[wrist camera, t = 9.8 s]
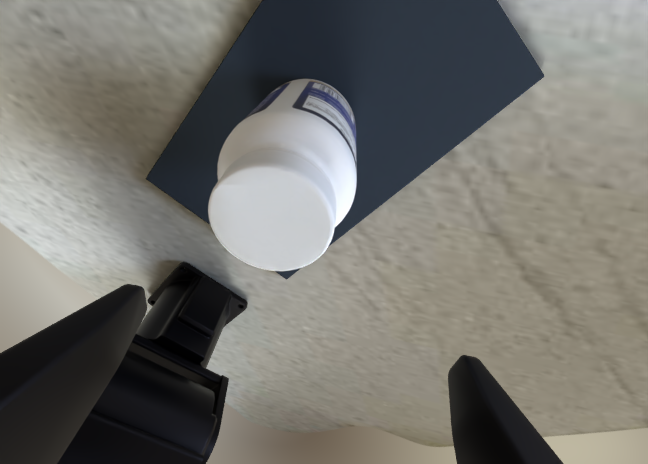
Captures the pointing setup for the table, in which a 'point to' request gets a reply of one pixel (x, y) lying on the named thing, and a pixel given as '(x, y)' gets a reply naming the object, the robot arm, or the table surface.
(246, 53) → the rubber mat
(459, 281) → the table surface
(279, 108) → the pill bottle
